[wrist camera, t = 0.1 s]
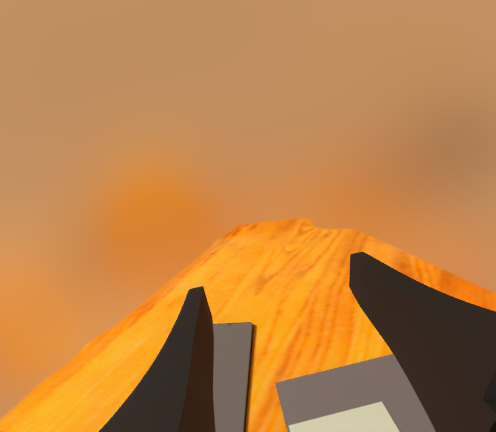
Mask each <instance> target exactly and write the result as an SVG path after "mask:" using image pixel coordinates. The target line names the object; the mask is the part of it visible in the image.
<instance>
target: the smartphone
mask: <svg viewBox="0 0 496 432" xmlns="http://www.w3.org/2000/svg"><path fill="white" fill-rule="evenodd" d="M213 332H214V367H213V402H214V416H215V430H216V432H245V427H246V415H247V402H248V389H249V377H250V366H251V353H252V340H253V324H252V323H250V322H246V323H227V324H213Z"/></svg>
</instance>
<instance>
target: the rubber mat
mask: <svg viewBox="0 0 496 432" xmlns="http://www.w3.org/2000/svg"><path fill="white" fill-rule="evenodd" d="M276 387H277V391H278V395H279V399H280V403H281V407H282V411H283V415H284V419H285V423H286V427H287V431H288V432H436V431H435V429H434V427H433V425H432V423H431V421H430V419H429V417H428V415H427V414H426V412H425V410H424V408H423V406H422V404H421V402H420V400H419V398H418V396H417V394H416V393H415V391H414V389H413V387H412V385H411V384H410V382H409V380H408V378H407V376H406V375H405V373H404V371H403V369H402V368H401V366H400V364H399V362H398V361H397V359H396V357H395V356H394V354H392V355H388V356H384V357H380V358H375V359H371V360H367V361H363V362H359V363H355V364H351V365H347V366H343V367H339V368H335V369H331V370H327V371H323V372H318V373H314V374H310V375H306V376H302V377H298V378H294V379H290V380H286V381H282V382H278V383H276Z"/></svg>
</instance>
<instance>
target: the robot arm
mask: <svg viewBox="0 0 496 432" xmlns="http://www.w3.org/2000/svg"><path fill="white" fill-rule="evenodd" d="M349 287H350V289H351V291H352V293H353V294H354V296H355V298H356V300H357V302H358V304H359V305H360V307H361V308H362V310H363V311H364V313H365V314H366V315H367V317H368V318H369V320H370V321H371V322H372V324H373V325H374V327H375V328H376V329H377V331H378V332H379V334H380V335H381V336H382V338H383V339H384V341H385V342H386V343H387V345H388V346H389V348H390V349H391V351H392V352H393V354H394V356H395V357H396V359H397V361H398V362H399V364H400V366H401V368H402V369H403V371H404V373H405V375H406V376H407V378H408V380H409V382H410V384H411V385H412V387H413V389H414V391H415V393H416V394H417V396H418V398H419V400H420V402H421V404H422V406H423V408H424V410H425V412H426V414H427V415H428V417H429V419H430V421H431V423H432V425H433V427H434V429H435V431H436V432H496V312H495V311H492V310H489V309H485V308H482V307H479V306H477V305H474V304H471V303H468V302H465V301H462V300H460V299H457V298H454V297H452V296H449V295H447V294H445V293H442V292H440V291H437V290H435V289H433V288H430V287H428V286H426V285H424V284H422V283H420V282H418V281H416V280H414V279H412V278H410V277H408V276H406V275H404V274H402V273H400V272H398V271H397V270H395V269H393V268H391V267H389V266H388V265H386V264H384V263H382V262H380V261H379V260H377V259H375V258H373V257H372V256H370V255H368V254H366V253H364V252H359V253H354V254H351V256H350V282H349ZM213 367H214V332H213V322H212V315H211V312H210V309H209V305H208V302H207V298H206V295H205V292H204V288H203V286H202V287H197V288H193V289H190V290H189V291H188V293H187V296H186V299H185V301H184V304H183V306H182V309H181V311H180V313H179V316H178V318H177V320H176V322H175V324H174V326H173V328H172V330H171V332H170V334H169V336H168V338H167V340H166V342H165V344H164V345H163V347H162V349H161V351H160V352H159V354H158V356H157V357H156V359H155V360H154V362H153V364H152V365H151V367H150V368H149V370H148V371H147V373H146V374H145V375H144V377H143V378H142V380H141V381H140V383H139V384H138V385H137V387H136V388H135V389H134V391H133V392H132V393H131V394H130V396H129V397H128V398H127V399H126V401H125V402H124V403H123V404H122V406H121V407H120V408H119V409H118V411H117V412H116V413H115V414H114V415H113V417H112V418H111V419H110V420H109V421H108V422H107V423H106V424H105V425H104V427H103V428H102V429H101V430H100V431H99V432H216V430H215V416H214V402H213Z"/></svg>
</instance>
